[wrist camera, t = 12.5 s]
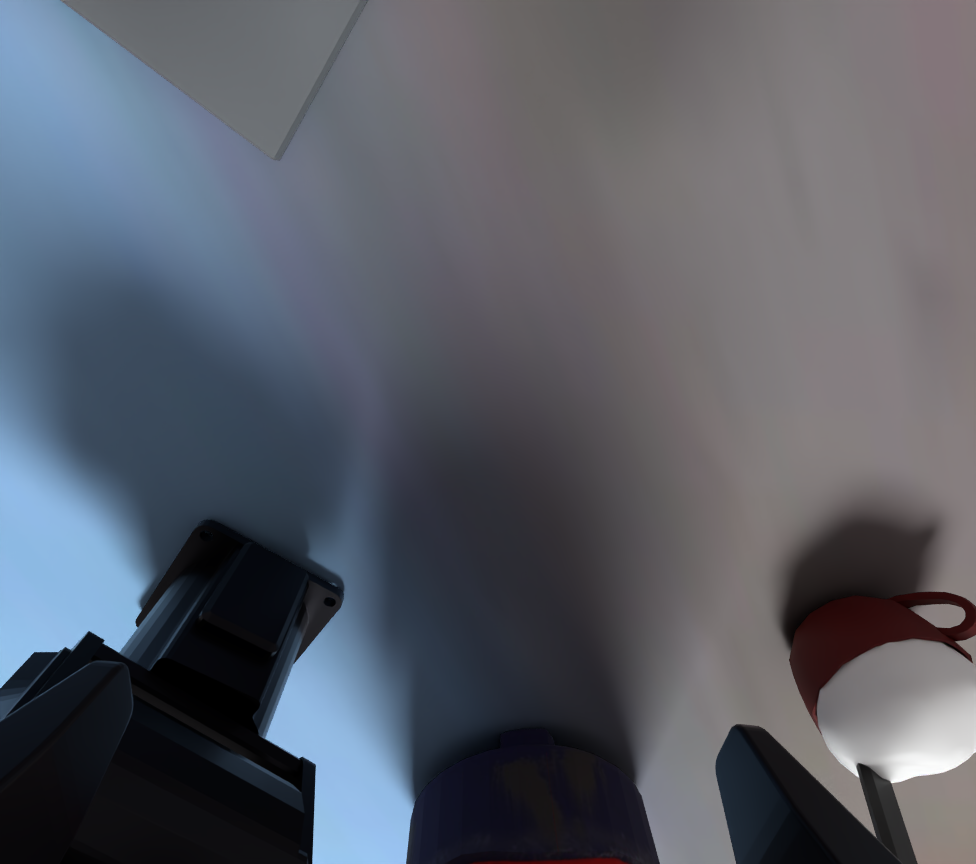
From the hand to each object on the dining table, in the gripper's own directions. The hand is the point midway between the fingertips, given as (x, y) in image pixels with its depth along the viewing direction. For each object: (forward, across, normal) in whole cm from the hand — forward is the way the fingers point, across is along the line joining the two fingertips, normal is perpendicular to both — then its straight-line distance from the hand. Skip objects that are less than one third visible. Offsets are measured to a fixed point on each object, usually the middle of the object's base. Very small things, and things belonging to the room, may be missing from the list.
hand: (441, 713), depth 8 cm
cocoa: (+13, -18, +8) cm, 24 cm away
